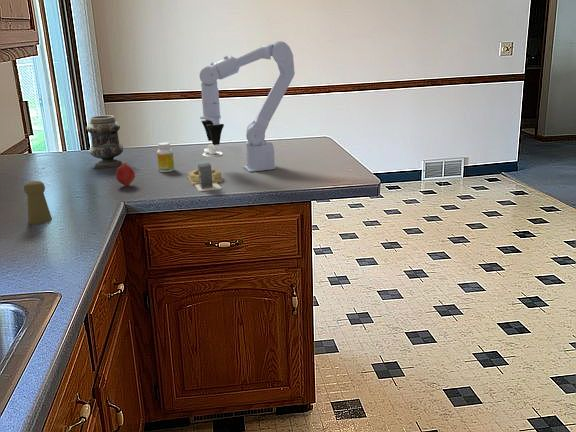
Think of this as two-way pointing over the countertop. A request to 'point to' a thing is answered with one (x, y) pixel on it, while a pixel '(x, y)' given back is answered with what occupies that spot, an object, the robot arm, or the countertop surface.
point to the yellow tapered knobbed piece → (37, 203)
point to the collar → (195, 175)
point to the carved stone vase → (105, 140)
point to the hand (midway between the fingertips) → (213, 142)
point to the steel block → (205, 175)
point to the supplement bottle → (165, 157)
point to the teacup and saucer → (211, 150)
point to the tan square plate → (198, 182)
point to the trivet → (215, 187)
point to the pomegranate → (125, 174)
